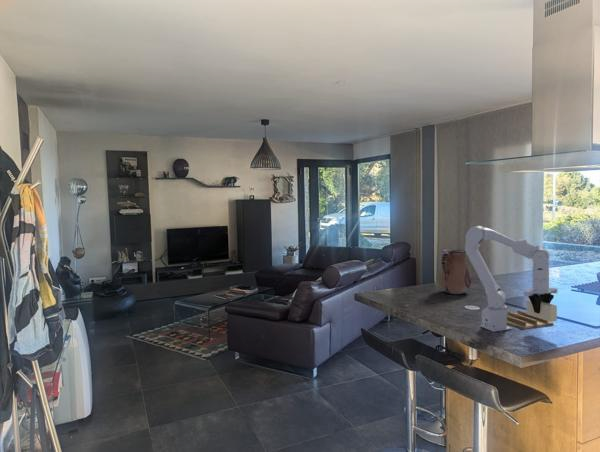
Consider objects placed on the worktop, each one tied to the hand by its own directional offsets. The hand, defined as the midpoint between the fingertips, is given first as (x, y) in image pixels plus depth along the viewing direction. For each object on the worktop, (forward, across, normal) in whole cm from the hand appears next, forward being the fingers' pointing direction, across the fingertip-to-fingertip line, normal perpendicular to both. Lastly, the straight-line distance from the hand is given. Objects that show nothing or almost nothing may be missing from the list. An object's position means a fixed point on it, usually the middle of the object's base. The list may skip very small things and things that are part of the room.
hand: (540, 312), depth 169 cm
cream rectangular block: (+2, 0, 0) cm, 2 cm away
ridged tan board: (+9, +5, +16) cm, 19 cm away
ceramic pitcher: (+9, +12, +75) cm, 76 cm away
